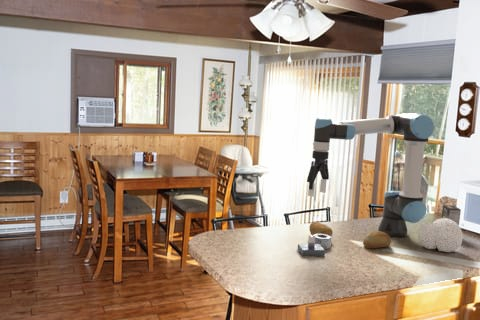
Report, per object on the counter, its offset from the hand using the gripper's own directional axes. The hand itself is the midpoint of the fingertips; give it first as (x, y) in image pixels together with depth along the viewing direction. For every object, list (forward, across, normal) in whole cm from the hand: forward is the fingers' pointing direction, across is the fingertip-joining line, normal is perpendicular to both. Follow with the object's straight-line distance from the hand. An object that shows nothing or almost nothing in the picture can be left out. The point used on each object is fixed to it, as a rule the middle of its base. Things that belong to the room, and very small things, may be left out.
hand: (316, 194), depth 229 cm
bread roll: (+24, -14, +28) cm, 39 cm away
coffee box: (+23, -62, +52) cm, 84 cm away
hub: (+24, +4, +6) cm, 25 cm away
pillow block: (+24, +17, +7) cm, 30 cm away
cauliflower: (+23, -31, +52) cm, 65 cm away
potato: (+24, -6, +1) cm, 25 cm away
